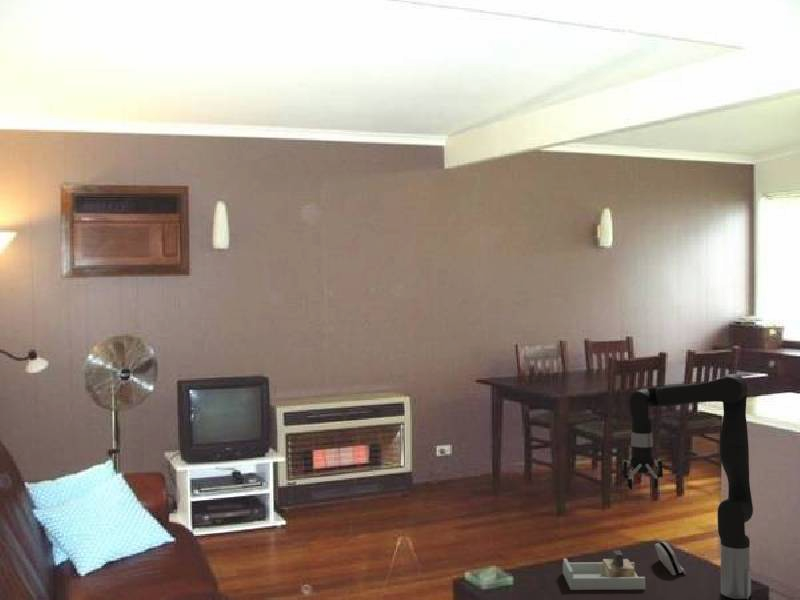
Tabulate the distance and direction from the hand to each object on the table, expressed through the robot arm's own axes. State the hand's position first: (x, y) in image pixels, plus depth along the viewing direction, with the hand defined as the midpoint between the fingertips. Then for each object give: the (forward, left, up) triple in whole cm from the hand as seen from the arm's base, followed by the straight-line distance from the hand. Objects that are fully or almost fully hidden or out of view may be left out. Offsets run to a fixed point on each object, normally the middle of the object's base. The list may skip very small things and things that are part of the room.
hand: (642, 488), depth 302 cm
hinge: (-6, -14, -32) cm, 36 cm away
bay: (+11, +12, -32) cm, 36 cm away
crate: (+6, +9, -31) cm, 33 cm away
